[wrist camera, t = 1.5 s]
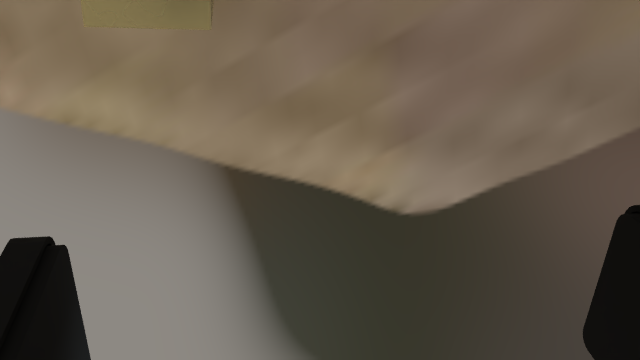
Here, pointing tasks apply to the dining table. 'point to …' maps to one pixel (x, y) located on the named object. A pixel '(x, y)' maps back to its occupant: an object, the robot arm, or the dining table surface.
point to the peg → (148, 14)
